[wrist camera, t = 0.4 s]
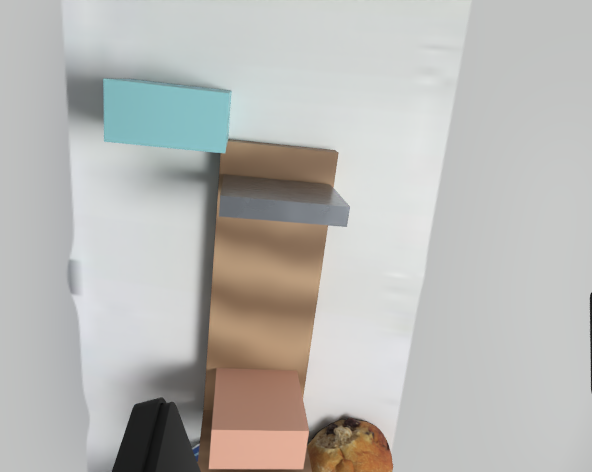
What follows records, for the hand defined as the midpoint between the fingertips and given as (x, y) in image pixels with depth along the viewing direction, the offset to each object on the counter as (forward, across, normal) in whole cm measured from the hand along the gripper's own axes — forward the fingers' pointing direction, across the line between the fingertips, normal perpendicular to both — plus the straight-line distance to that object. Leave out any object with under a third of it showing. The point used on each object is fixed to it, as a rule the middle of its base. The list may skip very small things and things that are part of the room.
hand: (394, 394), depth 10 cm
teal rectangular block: (+33, +7, -6) cm, 34 cm away
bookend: (+31, +1, +2) cm, 31 cm away
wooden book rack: (+33, +4, +12) cm, 35 cm away
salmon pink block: (+32, +7, +21) cm, 39 cm away
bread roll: (+34, 0, +34) cm, 48 cm away
